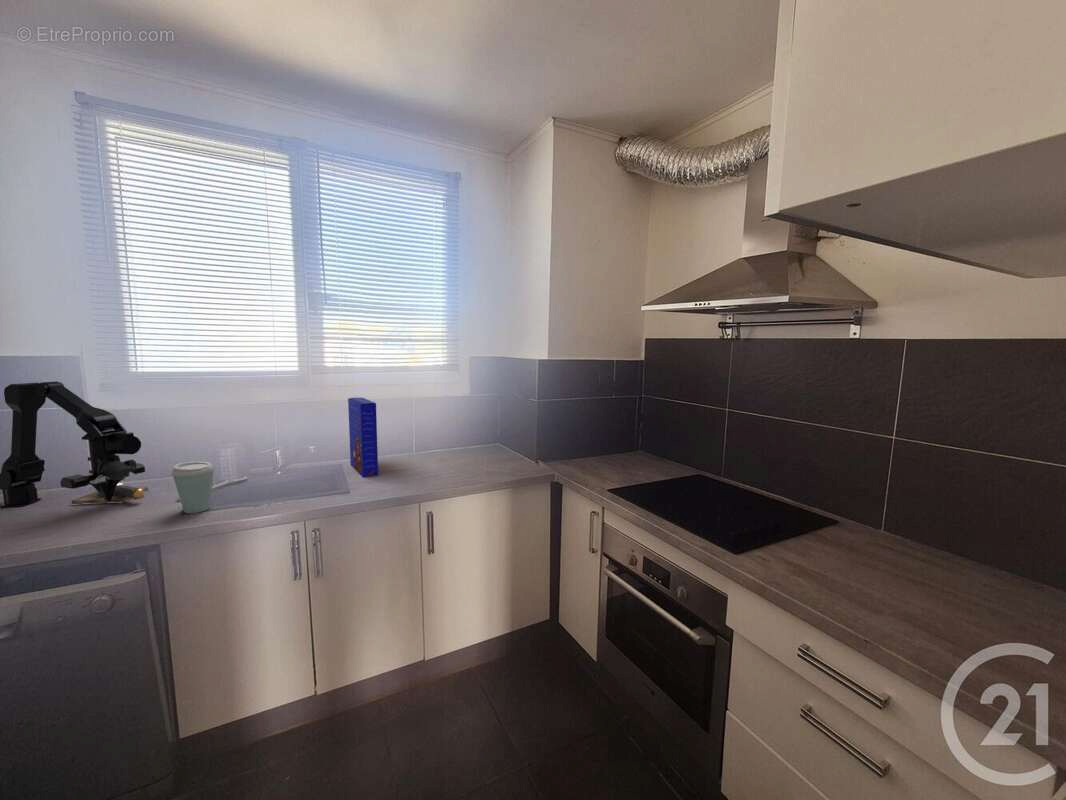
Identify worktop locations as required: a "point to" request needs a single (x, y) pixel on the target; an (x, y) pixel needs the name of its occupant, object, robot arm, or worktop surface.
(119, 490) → the amber-knobbed lever
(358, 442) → the cereal box
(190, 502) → the disposable coffee cup
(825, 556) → the worktop surface
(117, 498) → the block
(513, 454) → the worktop surface
